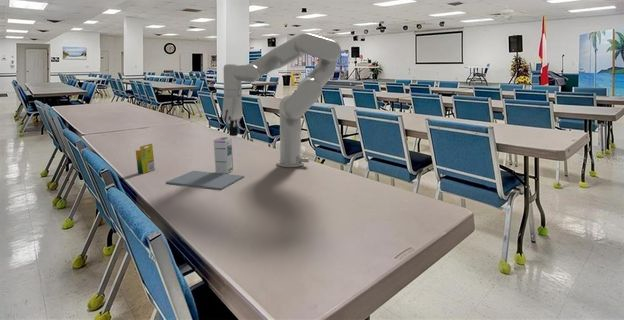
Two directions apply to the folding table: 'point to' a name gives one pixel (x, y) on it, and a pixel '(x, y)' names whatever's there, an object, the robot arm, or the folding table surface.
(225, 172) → the syrup box
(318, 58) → the robot arm
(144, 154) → the crayon box
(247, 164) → the folding table surface
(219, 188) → the mat
